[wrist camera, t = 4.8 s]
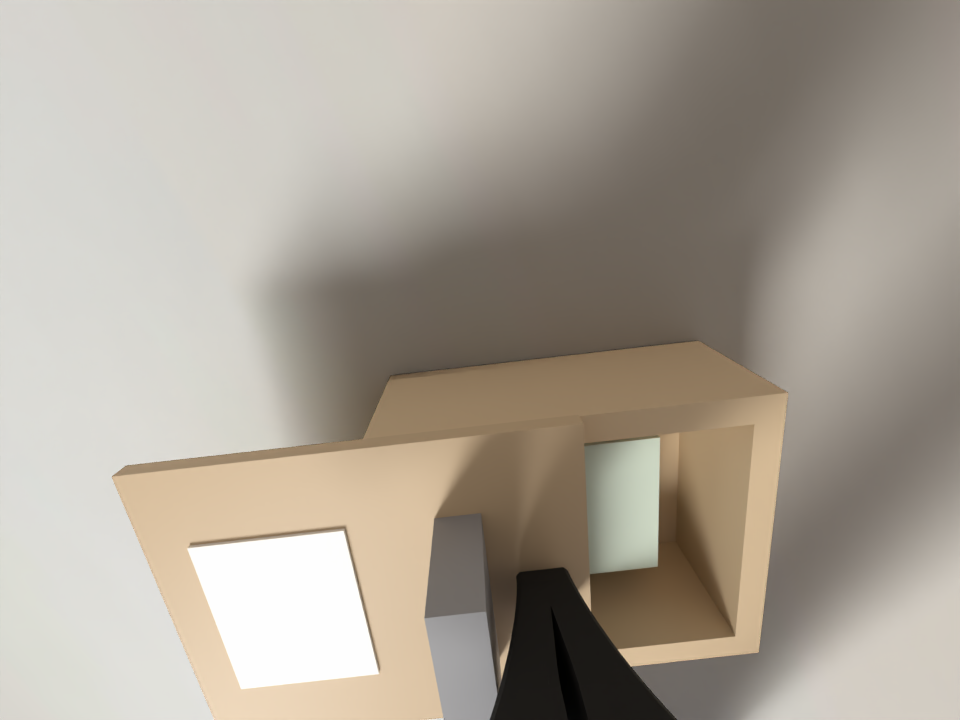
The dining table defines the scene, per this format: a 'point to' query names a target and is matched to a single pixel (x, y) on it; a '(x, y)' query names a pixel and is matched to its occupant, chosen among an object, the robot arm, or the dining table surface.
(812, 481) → the dining table surface
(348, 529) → the sliding lid
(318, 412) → the dining table surface
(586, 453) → the wooden box
